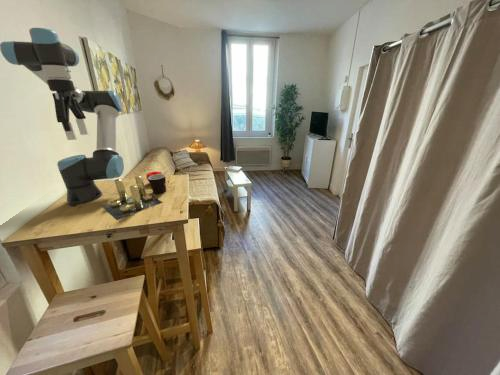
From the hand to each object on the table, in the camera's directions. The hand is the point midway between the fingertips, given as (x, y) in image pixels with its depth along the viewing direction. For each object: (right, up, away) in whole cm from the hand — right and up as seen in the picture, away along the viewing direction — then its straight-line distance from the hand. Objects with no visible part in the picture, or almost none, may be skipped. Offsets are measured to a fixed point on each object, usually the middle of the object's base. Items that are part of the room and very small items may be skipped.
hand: (79, 137), depth 87 cm
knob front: (+16, -31, +11) cm, 37 cm away
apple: (+13, -19, +43) cm, 49 cm away
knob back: (+6, -29, +18) cm, 34 cm away
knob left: (+17, -26, +22) cm, 38 cm away
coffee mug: (+21, -24, +31) cm, 45 cm away
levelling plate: (+13, -30, +16) cm, 37 cm away
